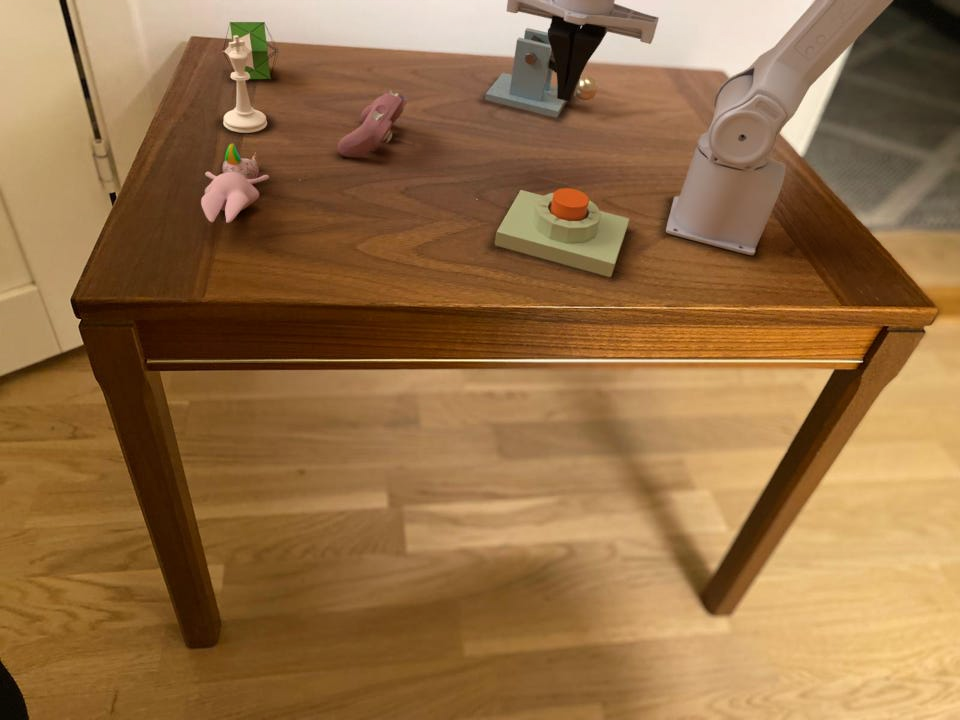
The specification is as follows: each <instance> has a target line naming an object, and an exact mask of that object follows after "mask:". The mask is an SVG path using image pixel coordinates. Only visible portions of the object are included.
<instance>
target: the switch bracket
mask: <svg viewBox="0 0 960 720" xmlns="http://www.w3.org/2000/svg"><path fill="white" fill-rule="evenodd" d="M534 35H535V36H537V37H538V38H539V39H541V40H542V41H543V42H545V43H546V44H545V43H541V42H536V41H532V40H530V39H531V38H532V37H533V36H534ZM550 55H551V56H552V57H553V58H554V56H553V52H552V48H551V45H550V42H549V39H548V31H542V30H538V29H533V28H529V27H527V28H526V29H525V30H524V35H523V37H518V38H517V39H516V44H515V50H514V57H513V65H512V72H511V74H510V73H506V72H502V73H501V74H500V76H499V77H498V78H497V79H496V80H495V82H494V83H493V84H492V85H491V86H490V88H489V89H488V90H487V91H486V93H485V95H484V96H485V97H484V100H485V101H489V102H493V103H496V104H501V105H505V106H509V107H512V108H517V109H521V110H525V111H529V112H533V113H537V114H541V115H546V116H549V117H553V118H559V116H560V114H561V112H562V111H563V109H564V107H565V106H566V103H567V102H568V101H565V100H561V99H557V84H552V79H553V73H554V71H553V70H552V69H550V68H549V67H548V65H549V60H550Z"/></svg>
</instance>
